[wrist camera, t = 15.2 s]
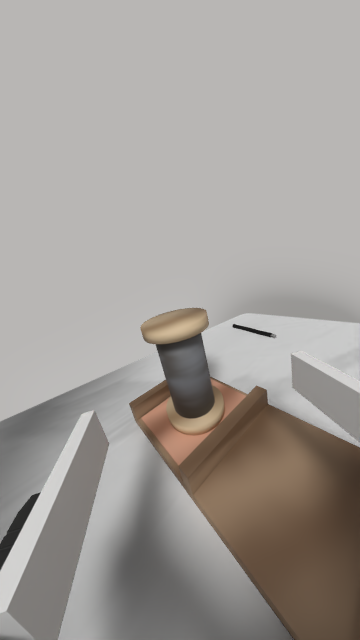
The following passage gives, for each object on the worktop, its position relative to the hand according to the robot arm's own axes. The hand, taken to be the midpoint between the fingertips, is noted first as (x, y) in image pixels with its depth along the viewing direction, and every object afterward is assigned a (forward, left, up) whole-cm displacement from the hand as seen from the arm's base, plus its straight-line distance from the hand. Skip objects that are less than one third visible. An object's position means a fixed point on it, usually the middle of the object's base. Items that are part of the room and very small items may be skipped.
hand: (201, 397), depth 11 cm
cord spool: (-7, +4, -9) cm, 12 cm away
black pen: (-15, +30, -10) cm, 35 cm away
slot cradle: (-2, +4, -10) cm, 11 cm away
